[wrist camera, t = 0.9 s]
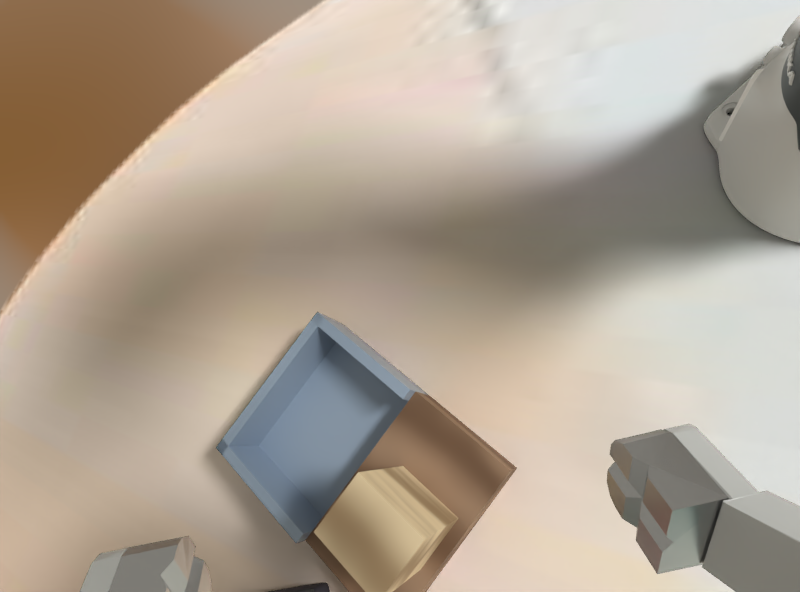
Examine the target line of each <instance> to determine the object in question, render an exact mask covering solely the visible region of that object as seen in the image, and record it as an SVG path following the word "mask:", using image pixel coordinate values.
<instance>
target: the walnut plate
mask: <svg viewBox="0 0 800 592" xmlns="http://www.w3.org/2000/svg"><path fill="white" fill-rule="evenodd" d="M400 466H404V467H405V468H406V469H407V470H408V471H409V472H410V473H411V474H412V475H413V476H414V477H415V478H416V479H417V480H418V481H419V482H421V483H422V484H423V485H424V486H425V487H426V488H427V489H428V490H429V491H430V492H431V493H432V494H433V495H434V496H435V497H436V498H438V499H439V500H440V501H441V502H442V503H443V504H444V505H445V506H446V507H447V508H448V509H449V510H450V511H451V512H452V513H453V514H455V515H456V516H457V517H458V520H457V521H456V522H455V524H454V525H453V527H452V528H451V529H450V531H449V532H448V533H447V535H446V536H445V537H444V539H443V540H442V541H441V543H440V544H439V546H438V547H437V548H436V550H435V551H434V552H433V554H432V555H431V556H430V558H429V559H428V560H427V562H426V563H425V565H424V566H423V567H422V569H421V570H420V571H418V572H417V573H416V574H415V575H413V576H412V577H411V578H410V579H408V580H407V581H406V582H404V583H403V584H402V585H401V586H399V587H398V588H397V589H396V590H394V591H393V592H426V591H427V590H428V588H429V587H430V586H431V584H432V583H433V581H434V580H435V579H436V577H437V576H438V575H439V573H440V572H441V571H442V569H443V568H444V567H445V565H446V564H447V562H448V561H449V560H450V558H451V557H452V556H453V554H454V553H455V552H456V550H457V549H458V548H459V546H460V545H461V543H462V542H463V541H464V539H465V538H466V537H467V535H468V534H469V533H470V531H471V530H472V528H473V527H474V526H475V524H476V523H477V522H478V520H479V519H480V518H481V516H482V515H483V514H484V512H485V511H486V509H487V508H488V507H489V505H490V504H491V503H492V501H493V500H494V499H495V497H496V496H497V494H498V493H499V492H500V490H501V489H502V488H503V486H504V485H505V484H506V482H507V481H508V480H509V478H510V477H511V475H512V474H513V473H514V471H515V470H516V469H517V468H516V467H515V466H514V465H513V464H511V463H510V462H509V461H508V460H507V459H505V458H504V457H503V456H502V455H500V454H499V453H498V452H497V451H496V450H494V449H493V448H492V447H491V446H490V445H488V444H487V443H486V442H485V441H484V440H482V439H481V438H480V437H479V436H478V435H476V434H475V433H474V432H473V431H471V430H470V429H469V428H468V427H467V426H465V425H464V424H463V423H462V422H461V421H459V420H458V419H457V418H456V417H455V416H453V415H452V414H451V413H450V412H449V411H447V410H446V409H445V408H444V407H442V406H441V405H440V404H439V403H438V402H436V401H435V400H434V399H433V398H432V397H430V396H429V395H426V394H423V393H419V392H415V393H414V394H413V396H412V397H411V398H410V400H409V401H408V402H407V404H406V405H405V406H404V408H403V409H402V411H401V412H400V413H399V415H398V416H397V417H396V419H395V420H394V421H393V423H392V424H391V425H390V427H389V428H388V429H387V431H386V432H385V433H384V435H383V436H382V437H381V439H380V440H379V442H378V443H377V444H376V446H375V447H374V448H373V450H372V451H371V452H370V454H369V455H368V456H367V458H366V459H365V460H364V462H363V463H362V464H361V466H360V467H359V469H358V470H357V471H356V473H355V474H354V475H353V477H352V478H351V479H350V481H349V482H348V483H347V485H346V486H345V487H344V489H343V490H342V491H341V493H340V494H339V496H338V497H337V498H336V500H335V501H334V502H333V504H332V505H331V506H330V508H329V509H328V510H327V512H326V513H325V514H324V516H323V517H322V518H321V520H320V521H319V522H318V524H317V525H316V527H315V528H314V529H313V531H312V532H311V533H310V535H309V536H308V537H307V539H306V541H307V543H308V544H309V545H310V546H311V547H312V548H313V550H314V551H315V552H316V553H317V554H318V556H319V557H320V558H321V559H322V560H323V561H324V563H325V564H326V565H327V566H328V567H329V568H330V570H331V571H332V572H333V573H334V574H335V576H336V577H337V578H338V579H339V580H340V581H341V583H342V584H343V585H344V586H345V587H346V588H347V590H348V591H349V592H365V591H364V590H363V588H362V587H361V586H360V585H359V584H358V583H357V582H356V580H355V579H354V578H353V577H352V576H351V575H350V573H349V572H348V571H347V570H346V569H345V568H344V567H343V565H342V564H341V563H340V562H339V561H338V560H337V558H336V557H335V556H334V555H333V554H332V553H331V552H330V550H329V549H328V548H327V547H326V546H325V545H324V544H323V542H322V541H321V540H320V539H319V538H318V537H317V535H316V534H315V533H314V531H315V530H316V528H317V527H318V526H319V524H320V523H321V522H322V520H323V519H324V518H325V516H326V515H327V514H328V512H329V511H330V509H331V508H332V507H333V505H334V504H335V503H336V501H337V500H338V499H339V497H340V496H341V495H342V493H343V492H344V491H345V489H346V488H347V487H348V485H349V484H350V483H351V481H352V480H353V478H354V477H355V476H356V474H357V473H358V472H363V471H371V470H378V469H385V468H392V467H400Z"/></svg>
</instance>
